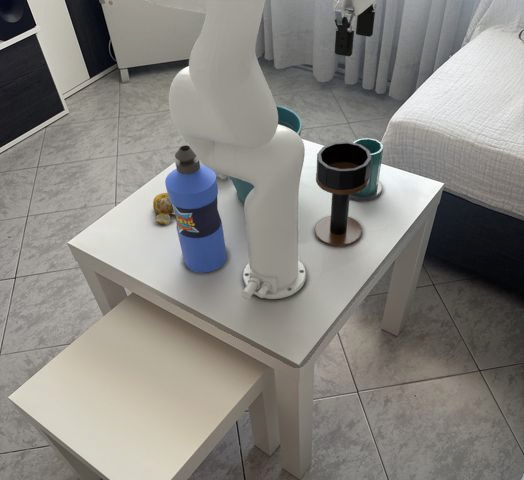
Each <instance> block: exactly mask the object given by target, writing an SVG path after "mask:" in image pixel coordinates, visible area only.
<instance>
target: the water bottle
mask: <svg viewBox="0 0 524 480" xmlns="http://www.w3.org/2000/svg"><path fill="white" fill-rule="evenodd" d="M174 158H175V160H174V164H175V167H176V168H175V169H173V170H172V171H170V172H169V173H168V174H167V176H166V177H165V180H164V183H165V188H166V189H165V190H166V193H168V197H169V200H170V202H171V204H172V207H173V209H174V212H175V215H174V216H175V220H176V221H175V222H176V223H175V224H176V232H177V236H178V240H179V245H180V249H181V254H182V258H183V262H184V265H185V267H186V268H187V269H188V270H190V271H192V272H195V273H201V274H203V273H211V272H214V271H216V270H218V269H220V268H221V267H222V266H223V265H224V264H225V263H226V261H227V248H226V243H225V241H226V240H225V236H224V228H223V222H222V218H221V215H220V212H219V209H218V201H219V200H218V195H219V188H218V181H217V177H216V174H215V172H214V171H213V170H211V169H209V168H208V167H206V166H203V165H200V162H199V158H198V157H197V156H196V154H195V153H194V152H193V151H192V149H191V148H190V147H189V146H188V145H182V146H180V147H179V149H178V150H177V151H176V152H175V154H174Z"/></svg>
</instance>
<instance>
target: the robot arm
mask: <svg viewBox="0 0 524 480" xmlns="http://www.w3.org/2000/svg"><path fill="white" fill-rule="evenodd" d="M144 2H146V3H148V4H151V5H154V6H158V7H162V8H169V9H175V10H180V11H187V12H193V13H199V14H205V17H204V22H203V24H202V28H201V30H200V33H199V36H198V37H197V39H196V41H195V43H194V44H193V47H192V49H191V52H190V55H189V58H188V66H186V67H184V68H182V69H181V70H179V71H178V73H176V75H175V76H174V77H173V80H172V82H171V84H170V87H169V93H168V109H169V115H170V118H171V122H172V123H173V126H174V128H175V130H176V131H177V133H178V134H179V135H180V136H181V138H182V140H183V141H184V142H185V143H186V144H187V146H189V147H190V148H191V149H192V151H193V152H194V153H195V154H196V156H197V157H198V158H199V159H200V161H201V162H202V163H203V164H204V165H205V166H206V167H208V168H209V169H211V170H213V171H215V172H218V173H221V174H224V175H227V177H230V176H231V177H234V178H238V179H241V180H243V181H246V182H249V183H251V184H252V185H254V188H253V189H252V190H251V192H250V193H249V194H248V196H247V197H246V200H245V204H244V203H243V212H244V213H243V214H244V221H245V229H246V230H245V231H246V241H247V251H248V260H249V262H247V264H246V265H245V267H244V269H243V273H242V278H243V283H244V286H245V287H244V288H243V289H242V290H241V293H240V295H241V297H243V298H244V299H245V300H250V298H251V297H252V296H253V295H255V296H257V297H258V298H260V299H268V300H278V299H284V298H288V297H290V296H292V295H294V294H297V292H298V291H300V290H301V289H302V287H303V286H304V284H305V282H306V277H307V273H306V272H307V271H306V268H305V264H303V263H302V262H301V260H300V259H299V191H300V190H299V189H300V183H301V177H302V171H303V166H304V162H305V154H306V149H305V148H306V147H305V143H304V140H303V139H302V138H301V135H300V136H299V135H298V134H297V133H296V132H295V131H293V130H292V129H290V128H287V127H285V126H282V125H279V124H278V112H277V107H276V105H277V104H276V101H275V99H274V98H275V97H274V95H273V94H272V91H271V89H270V86H269V84H268V81H267V79H266V77H265V75H264V72H263V70H262V68H261V66H260V63H259V60H258V57H257V55H256V48H257V47H256V46H257V45H256V44H257V40H258V35H259V31H260V26H261V22H262V18H263V13H264V9H265V5H266V0H144ZM376 10H377V0H333V4H332V11H333V12H334V16H335V18H334V23H335V27H334V29H335V40H334V41H335V43H334V54H335V55H339V56H344V57H351V56H352V55H353V49H354V37H355V34H356V35H357V36H362V37H372V36H373V35H374V25H375V16H376V12H375V11H376ZM348 17H349V20H348ZM355 22H356V25H355ZM354 25H355V26H356V27H355V28H356V29H355V30H353V28H354Z"/></svg>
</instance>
